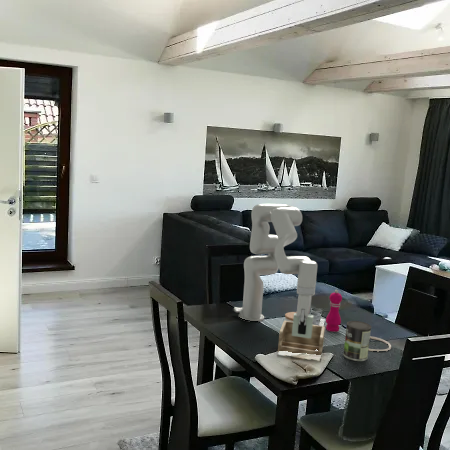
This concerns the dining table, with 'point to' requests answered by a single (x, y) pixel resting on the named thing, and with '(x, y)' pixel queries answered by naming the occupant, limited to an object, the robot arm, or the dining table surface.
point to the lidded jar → (289, 316)
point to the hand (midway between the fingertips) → (302, 331)
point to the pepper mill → (334, 312)
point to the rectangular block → (308, 326)
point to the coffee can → (357, 340)
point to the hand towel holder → (382, 341)
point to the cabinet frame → (301, 340)
